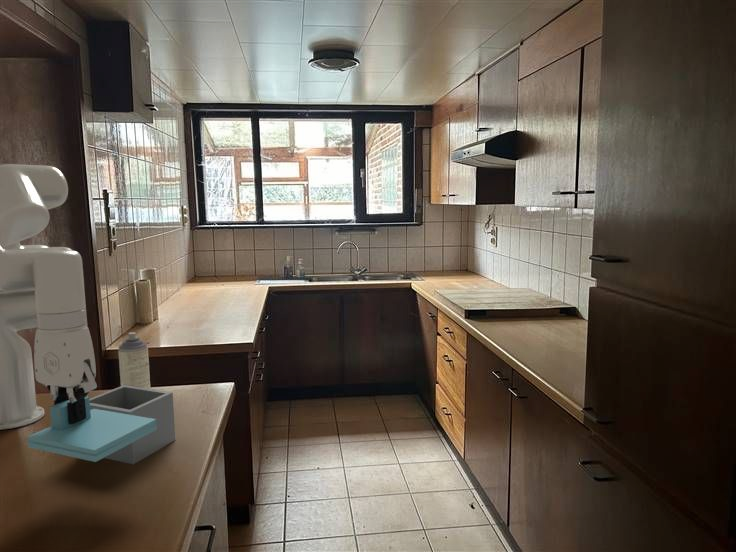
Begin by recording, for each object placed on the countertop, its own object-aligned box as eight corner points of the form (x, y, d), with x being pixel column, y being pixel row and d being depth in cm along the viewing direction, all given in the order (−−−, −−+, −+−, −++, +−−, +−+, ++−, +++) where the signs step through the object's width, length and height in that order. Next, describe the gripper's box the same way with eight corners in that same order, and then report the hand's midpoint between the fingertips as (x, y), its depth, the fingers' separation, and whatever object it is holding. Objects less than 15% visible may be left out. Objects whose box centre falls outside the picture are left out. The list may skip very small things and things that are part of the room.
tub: (82, 453, 112) (78, 403, 110) (127, 430, 123) (124, 385, 121) (133, 464, 106) (129, 412, 105) (175, 440, 118) (172, 392, 116)
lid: (28, 447, 90) (25, 413, 90) (94, 418, 103) (92, 388, 102) (95, 461, 85) (92, 426, 84) (156, 429, 97) (154, 398, 96)
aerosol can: (145, 402, 140) (141, 328, 138) (155, 409, 136) (151, 333, 133) (118, 409, 136) (113, 333, 133) (128, 416, 131) (122, 337, 128)
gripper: (10, 321, 93) (20, 422, 95) (77, 328, 87) (86, 435, 89) (49, 313, 99) (58, 407, 102) (114, 319, 94) (121, 418, 96)
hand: (71, 419), depth 95 cm, fingers closed on lid, 2 cm apart
